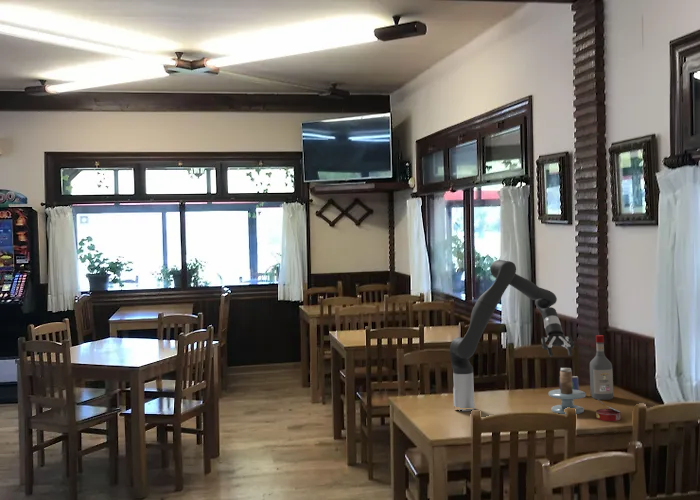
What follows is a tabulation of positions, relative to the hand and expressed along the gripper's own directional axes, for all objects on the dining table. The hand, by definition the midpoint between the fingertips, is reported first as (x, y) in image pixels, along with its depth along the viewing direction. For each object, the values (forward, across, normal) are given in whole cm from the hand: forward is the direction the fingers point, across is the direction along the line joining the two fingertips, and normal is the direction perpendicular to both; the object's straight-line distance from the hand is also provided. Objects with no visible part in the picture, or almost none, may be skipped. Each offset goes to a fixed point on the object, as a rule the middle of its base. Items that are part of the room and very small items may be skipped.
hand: (560, 355), depth 322 cm
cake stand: (+22, 0, +12) cm, 25 cm away
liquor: (+7, +23, +27) cm, 36 cm away
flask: (+1, +10, +33) cm, 35 cm away
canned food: (+33, +13, +2) cm, 35 cm away
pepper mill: (+16, 0, +6) cm, 17 cm away
